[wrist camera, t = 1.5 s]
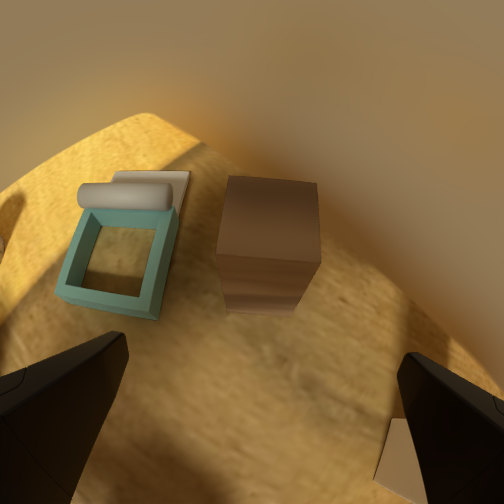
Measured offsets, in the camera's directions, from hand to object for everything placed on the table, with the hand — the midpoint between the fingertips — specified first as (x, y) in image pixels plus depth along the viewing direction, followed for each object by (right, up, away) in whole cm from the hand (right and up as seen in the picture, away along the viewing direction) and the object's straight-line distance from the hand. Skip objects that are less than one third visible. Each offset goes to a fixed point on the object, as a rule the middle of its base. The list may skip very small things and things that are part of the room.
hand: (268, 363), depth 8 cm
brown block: (0, +1, +15) cm, 15 cm away
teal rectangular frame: (-12, +5, +17) cm, 22 cm away
